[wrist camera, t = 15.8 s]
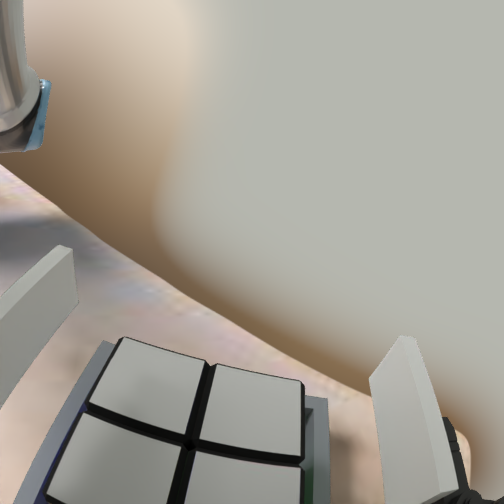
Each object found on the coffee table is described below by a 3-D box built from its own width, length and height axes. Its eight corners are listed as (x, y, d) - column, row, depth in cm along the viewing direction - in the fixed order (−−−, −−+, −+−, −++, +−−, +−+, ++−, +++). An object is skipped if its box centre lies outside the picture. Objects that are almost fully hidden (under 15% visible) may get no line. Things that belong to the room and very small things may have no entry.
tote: (107, 369, 24) (103, 340, 22) (309, 422, 24) (327, 398, 22) (25, 543, 8) (-1, 534, 6) (298, 615, 8) (323, 621, 6)
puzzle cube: (131, 418, 20) (120, 330, 15) (260, 450, 20) (306, 377, 15) (91, 529, 11) (36, 496, 6) (247, 567, 11) (305, 564, 6)
